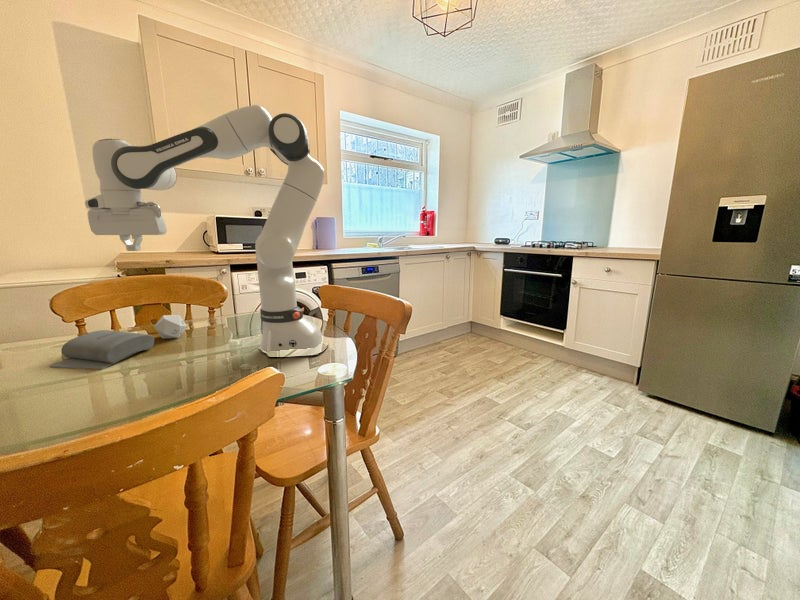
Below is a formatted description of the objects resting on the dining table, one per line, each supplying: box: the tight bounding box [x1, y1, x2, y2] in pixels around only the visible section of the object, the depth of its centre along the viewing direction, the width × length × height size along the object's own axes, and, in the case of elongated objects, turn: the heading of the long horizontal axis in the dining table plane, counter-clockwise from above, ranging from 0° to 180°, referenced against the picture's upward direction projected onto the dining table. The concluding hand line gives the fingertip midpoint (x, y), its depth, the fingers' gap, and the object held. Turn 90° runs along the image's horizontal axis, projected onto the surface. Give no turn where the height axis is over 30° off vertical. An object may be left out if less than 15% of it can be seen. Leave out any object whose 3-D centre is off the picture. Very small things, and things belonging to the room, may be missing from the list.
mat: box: [49, 351, 140, 370], centre depth 101 cm, size 16×16×1 cm
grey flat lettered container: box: [60, 329, 155, 364], centre depth 102 cm, size 15×6×20 cm
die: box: [153, 314, 188, 340], centre depth 117 cm, size 8×9×10 cm
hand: (134, 250), depth 95 cm, fingers closed
